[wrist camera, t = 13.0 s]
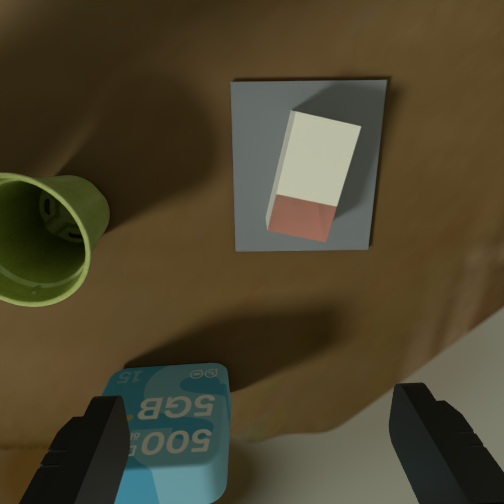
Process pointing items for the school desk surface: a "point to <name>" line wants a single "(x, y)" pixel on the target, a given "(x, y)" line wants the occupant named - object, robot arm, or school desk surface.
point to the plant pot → (47, 236)
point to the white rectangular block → (310, 175)
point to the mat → (269, 149)
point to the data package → (174, 433)
